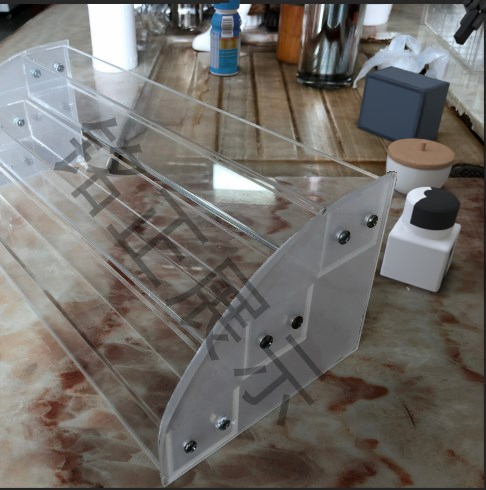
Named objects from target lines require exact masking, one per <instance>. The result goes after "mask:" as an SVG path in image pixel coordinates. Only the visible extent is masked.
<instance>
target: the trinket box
mask: <svg viewBox="0 0 486 490" xmlns="http://www.w3.org/2000/svg"><path fill="white" fill-rule="evenodd" d="M455 159H456V153H455V152H454V150H453V149H452V148H451V147H449V146H447V145H445V144H443V143H440V142H439V141H438V142H437V141H436V140H434V141H430V140H425V139H401V140H397V141H394V142H391V143H390V144H389V145H388V147H387V156H386V163H385V174H386V173H387V172H389V171H395V172H397V181H396V186H395V189H394V191H397V192H398V193H400V194H403V195H406V196H407V194H408V193H409V192H410V191H412V190H413V189H416V188H420V187H435V188H440V189H442V187H443V186H444V184H446V182H447V181H448V178H449V176H450V174H451V171H452V168H453V164H454V163H455Z"/></svg>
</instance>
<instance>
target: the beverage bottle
mask: <svg viewBox="0 0 486 490" xmlns="http://www.w3.org/2000/svg"><path fill="white" fill-rule="evenodd" d="M229 1H230V2H229V3H220V4H214V3H213V8H214V10H215V11H214V13H213V15H212V17H211V19H210V26H211V28H210V31H209V37H210V38H209V39H210V40H209V41H210V42H209V43H210V44H209V45H210V46H209V47H210V49H209V72H210V74H212V75H213V76H218V77H233V76H235V75H237V74H239V72H240V67H241V66H240V60H241V43H242V35H243V31H242V30H243V29H241V26H242V25H243V21H242V17H241V15H240V13H239V11H238V10H240V7H241V0H229Z"/></svg>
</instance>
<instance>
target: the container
mask: <svg viewBox="0 0 486 490" xmlns="http://www.w3.org/2000/svg"><path fill="white" fill-rule="evenodd" d="M460 207H461V201H460V199H459V198H458V197H457V196H456V195H455V194H454V193H452V192H450V191H448V190H445V189H444V188H435V187H420V188H416V189H413V190H412V191H410V192H409V193H408V194H407V195H406V198H405V203H404V207H403V211H402V213H401V216H400V217H399V219H398V220H397V222H396V223H395V224H394V226H393V227H392V229H391V230H390V232H389V233H388V237H387V241H386V246H385V250H384V254H383V258H382V263H381V268H380V273H379V274H380V276H383V277H387V278H389V279H393V280H395V281H398V282H401V283H405V284H408V285H410V286H414V287H417V288H420V289H424V290H426V291H430V292H432V293H437V292H439V290H440V288H441V286H442V284H443V282H444V280H445V277H446V275H447V273H448V270H449V268H450V266H451V264H452V260H453V256H454V252H455V249H456V246H457V243H458V239H459V236H460V233H461V229H462V225H461V224H460V223H456V222H457V217H458V214H459V210H460Z"/></svg>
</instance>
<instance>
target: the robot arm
mask: <svg viewBox="0 0 486 490" xmlns="http://www.w3.org/2000/svg"><path fill="white" fill-rule="evenodd" d="M462 6H463V7H464V11H465V14H464V16H462V18H461V19H460V21H459V25H460V26H459V27H458V29H457V30H456V32H454V34H453V39H454V41H455V44H456V45H460V46H464V44H466V42H467V40H469V38H470V36H471V35H472V34H473V32H474V31H476V32H477V31H478V30H479V29H480V28H481V26H482V25H483V23H485V21H486V0H463V2H462Z"/></svg>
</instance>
